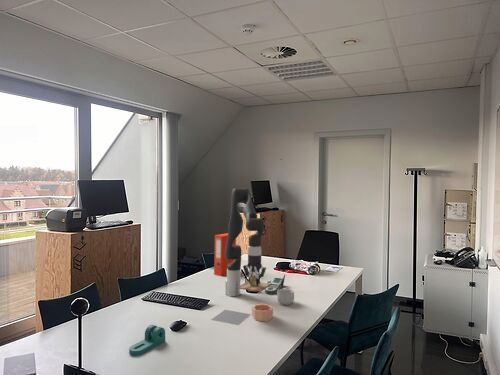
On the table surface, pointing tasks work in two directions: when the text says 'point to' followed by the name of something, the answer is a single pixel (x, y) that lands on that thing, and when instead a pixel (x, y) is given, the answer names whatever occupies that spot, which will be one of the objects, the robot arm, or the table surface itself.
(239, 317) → the mat
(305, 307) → the table surface
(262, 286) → the lid
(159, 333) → the bracket
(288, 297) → the teacup
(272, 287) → the communication device
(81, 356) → the table surface
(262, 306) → the bowl
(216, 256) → the file binder
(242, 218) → the robot arm
